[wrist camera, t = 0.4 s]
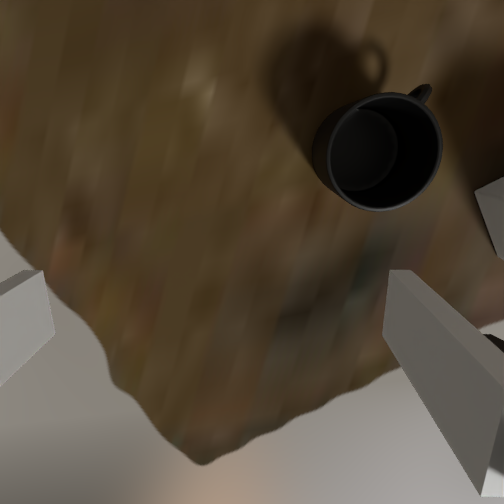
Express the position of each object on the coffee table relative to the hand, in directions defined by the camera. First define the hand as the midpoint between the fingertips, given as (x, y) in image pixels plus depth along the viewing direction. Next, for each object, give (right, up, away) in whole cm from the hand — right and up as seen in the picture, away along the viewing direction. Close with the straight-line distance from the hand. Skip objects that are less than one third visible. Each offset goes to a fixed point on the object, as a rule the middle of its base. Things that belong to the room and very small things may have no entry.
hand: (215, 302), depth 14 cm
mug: (+13, +14, +24) cm, 30 cm away
